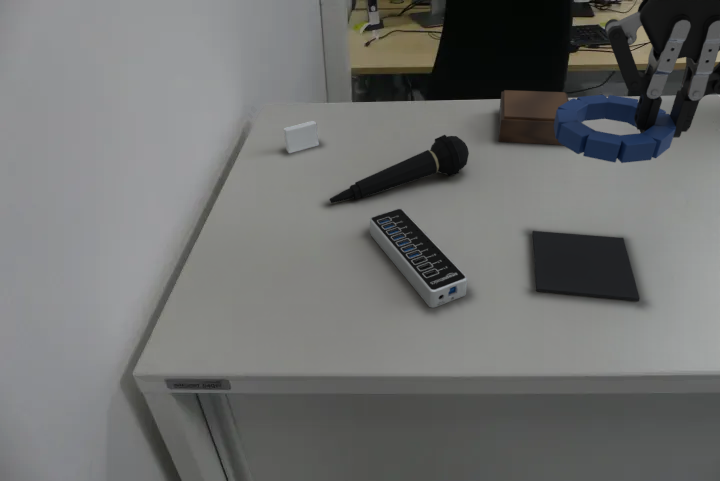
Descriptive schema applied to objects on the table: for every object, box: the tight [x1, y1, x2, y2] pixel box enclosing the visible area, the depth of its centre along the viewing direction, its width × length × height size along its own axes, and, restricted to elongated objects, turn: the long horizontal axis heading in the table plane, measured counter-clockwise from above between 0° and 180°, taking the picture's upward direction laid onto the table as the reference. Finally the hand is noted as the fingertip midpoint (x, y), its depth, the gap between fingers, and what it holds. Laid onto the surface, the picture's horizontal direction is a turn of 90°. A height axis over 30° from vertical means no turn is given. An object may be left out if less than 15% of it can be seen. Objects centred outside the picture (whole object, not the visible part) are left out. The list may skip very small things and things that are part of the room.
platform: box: [498, 89, 570, 146], centre depth 85 cm, size 10×10×4 cm
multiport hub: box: [369, 208, 468, 309], centre depth 62 cm, size 4×14×2 cm, turn 25°
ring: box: [554, 94, 676, 164], centre depth 52 cm, size 10×10×2 cm
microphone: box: [329, 134, 470, 204], centre depth 74 cm, size 6×6×20 cm
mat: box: [532, 230, 641, 302], centre depth 61 cm, size 10×10×1 cm
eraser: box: [282, 120, 320, 154], centre depth 84 cm, size 1×5×4 cm, turn 116°
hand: (658, 132), depth 52 cm, fingers closed on ring, 2 cm apart
